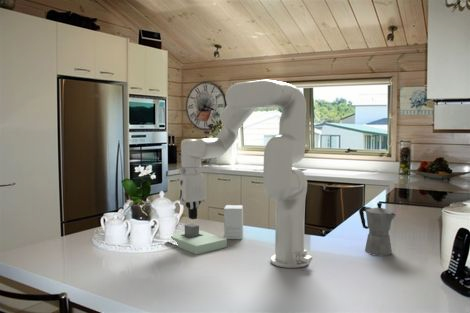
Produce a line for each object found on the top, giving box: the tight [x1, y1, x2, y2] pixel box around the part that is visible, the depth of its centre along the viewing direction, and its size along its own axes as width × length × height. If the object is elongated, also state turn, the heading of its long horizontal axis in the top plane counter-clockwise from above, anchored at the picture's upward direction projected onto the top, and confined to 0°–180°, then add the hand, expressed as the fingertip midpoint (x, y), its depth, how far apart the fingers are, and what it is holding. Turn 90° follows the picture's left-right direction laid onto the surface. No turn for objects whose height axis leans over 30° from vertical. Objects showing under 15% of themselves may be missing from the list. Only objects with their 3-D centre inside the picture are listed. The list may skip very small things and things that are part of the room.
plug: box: [184, 223, 200, 238], centre depth 160 cm, size 4×4×7 cm
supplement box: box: [223, 204, 244, 240], centre depth 169 cm, size 7×7×13 cm
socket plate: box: [171, 229, 228, 255], centre depth 158 cm, size 20×14×3 cm
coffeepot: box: [358, 202, 397, 256], centre depth 149 cm, size 15×9×18 cm, turn 34°
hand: (193, 218), depth 160 cm, fingers closed
